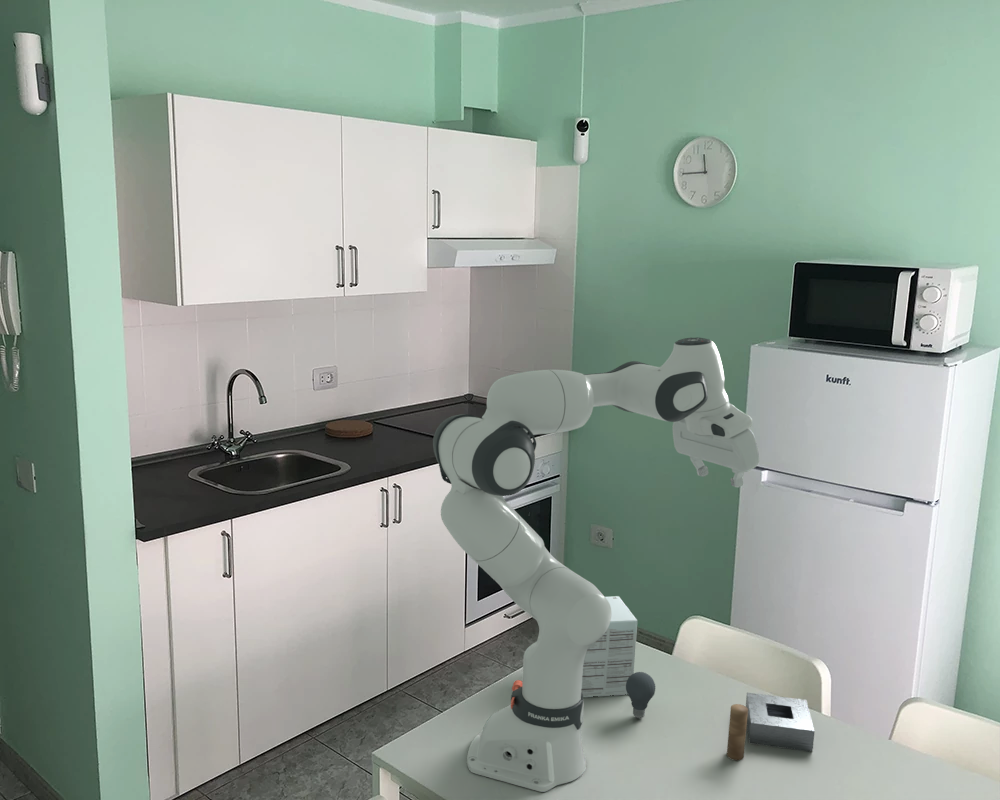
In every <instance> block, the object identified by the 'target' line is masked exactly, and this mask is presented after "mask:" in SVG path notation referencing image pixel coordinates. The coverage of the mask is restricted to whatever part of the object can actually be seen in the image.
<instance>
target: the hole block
mask: <svg viewBox="0 0 1000 800" xmlns="http://www.w3.org/2000/svg"><path fill="white" fill-rule="evenodd" d="M745 698H746V699H745V707H747V708H748V716H747V727H746V731H747V734H748V735H747V736H748V743H749V744H751V745H759V746H765V747H766V746H767V747H774V748H781V749H789V750H795V751H803V752H811V753H813V749H814V740H815V727H814V724H813V720H812V716H811V715H812V714H811V712H810V709H809V705H808V700H807V699H804V698H793V697H784V696H778V695H771V694H770V695H769V694H763V693H754V692H746V697H745Z"/></svg>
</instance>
